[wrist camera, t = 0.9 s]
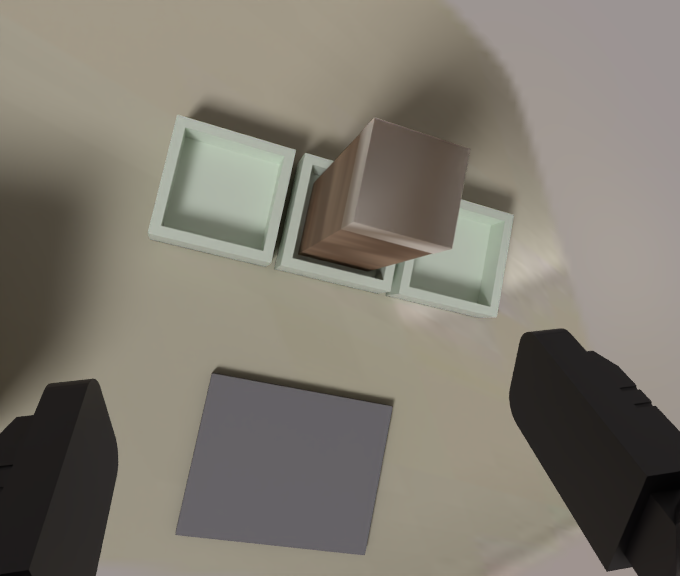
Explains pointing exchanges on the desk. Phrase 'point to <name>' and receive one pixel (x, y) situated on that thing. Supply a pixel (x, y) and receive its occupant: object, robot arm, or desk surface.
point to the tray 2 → (292, 234)
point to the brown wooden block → (386, 199)
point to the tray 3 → (461, 266)
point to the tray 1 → (221, 192)
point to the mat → (284, 467)
